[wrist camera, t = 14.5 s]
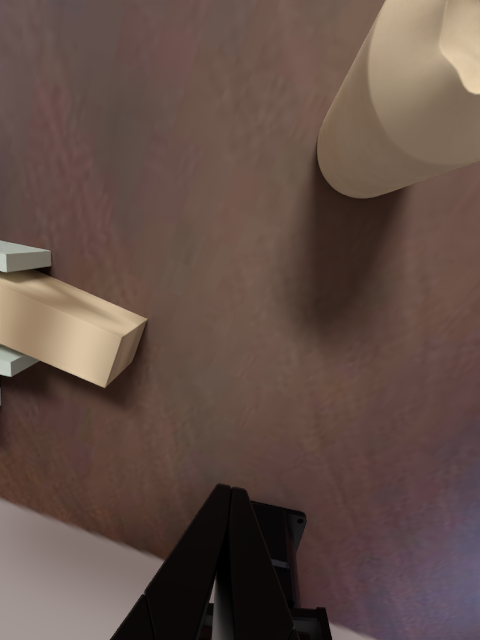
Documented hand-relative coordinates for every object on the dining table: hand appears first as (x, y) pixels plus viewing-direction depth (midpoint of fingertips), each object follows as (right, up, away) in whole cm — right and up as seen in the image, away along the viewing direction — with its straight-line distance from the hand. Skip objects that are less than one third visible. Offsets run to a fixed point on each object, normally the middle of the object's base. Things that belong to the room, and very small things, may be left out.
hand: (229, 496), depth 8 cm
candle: (+7, +15, +8) cm, 18 cm away
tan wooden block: (-11, +6, +12) cm, 17 cm away
